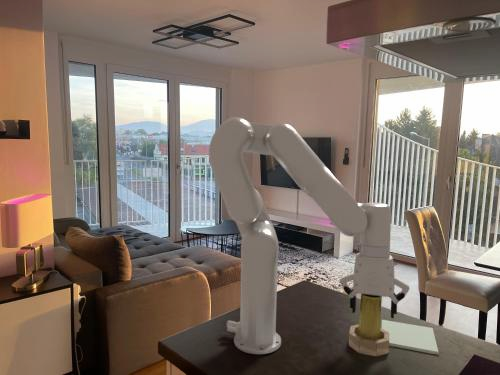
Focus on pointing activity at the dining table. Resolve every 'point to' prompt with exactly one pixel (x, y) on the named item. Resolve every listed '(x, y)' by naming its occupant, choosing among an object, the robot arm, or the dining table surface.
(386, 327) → the mat
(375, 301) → the vase
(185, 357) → the dining table surface
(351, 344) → the ring
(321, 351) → the dining table surface
